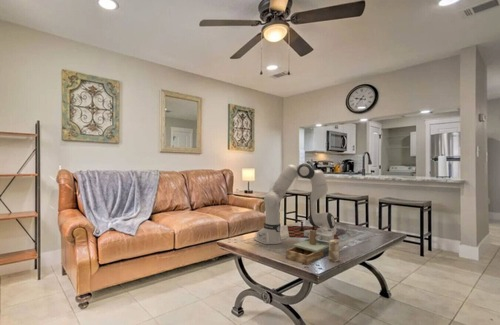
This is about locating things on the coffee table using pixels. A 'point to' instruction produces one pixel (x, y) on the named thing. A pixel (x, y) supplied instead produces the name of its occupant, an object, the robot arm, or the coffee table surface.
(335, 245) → the tan wooden block
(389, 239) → the coffee table surface
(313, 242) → the lid
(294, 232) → the chessboard
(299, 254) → the open wooden box
